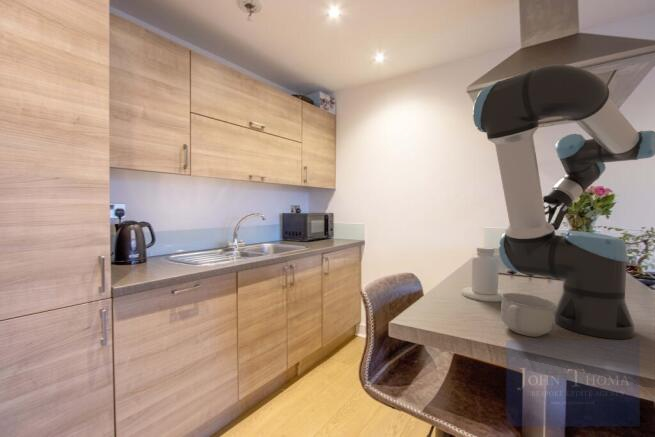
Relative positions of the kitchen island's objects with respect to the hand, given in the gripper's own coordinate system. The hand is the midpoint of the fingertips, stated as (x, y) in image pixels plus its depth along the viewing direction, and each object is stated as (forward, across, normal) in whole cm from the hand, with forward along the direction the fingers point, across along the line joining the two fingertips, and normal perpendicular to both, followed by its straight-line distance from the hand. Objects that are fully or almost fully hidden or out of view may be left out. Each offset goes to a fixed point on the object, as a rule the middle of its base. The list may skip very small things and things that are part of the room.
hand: (516, 240), depth 103 cm
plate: (+20, 0, -6) cm, 21 cm away
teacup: (+26, -31, -1) cm, 40 cm away
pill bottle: (+20, 0, -5) cm, 20 cm away
